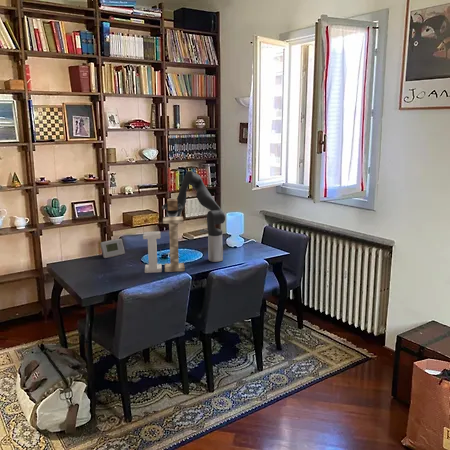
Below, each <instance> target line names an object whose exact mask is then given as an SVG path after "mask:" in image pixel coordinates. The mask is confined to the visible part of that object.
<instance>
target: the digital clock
mask: <svg viewBox="0 0 450 450" xmlns="http://www.w3.org/2000/svg"><path fill="white" fill-rule="evenodd" d="M100 249H101V252H102V256H103V257H102V258H104V259H106V258H108V259H109V258H113V257H119V256H121V255H125V253H126V251H125V247H124V243H123V239H122V238H115V239H110V240H106V241H101V242H100Z"/></svg>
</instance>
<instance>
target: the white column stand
mask: <svg viewBox="0 0 450 450" xmlns="http://www.w3.org/2000/svg"><path fill="white" fill-rule="evenodd" d="M142 239H143V240H147V252H148V253H147V255H148V264H145V265H144V273H145V274H151V273H162V271H163V269H162V263H158V250H157V240H158V239H159V240H160V239H161V231H144V232H143V235H142Z"/></svg>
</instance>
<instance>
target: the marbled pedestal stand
mask: <svg viewBox="0 0 450 450" xmlns="http://www.w3.org/2000/svg"><path fill="white" fill-rule="evenodd" d="M178 223H179V224H184V216H180V217H165V216H163V217H162V224H163V225H164V224H165V225H167V224H168V227H169V228H168V230H169V231H168V232H169V257H170V258H169V262H170V263H164V272H165V273H168V272H169V273H170V272H171V273H172V272H175V273H176V272H185V270H186V269H185V268H186V267H185V263H184V262H180V261H179V260H180V259H179V232H178V231H179V229H178V226H179V224H178Z"/></svg>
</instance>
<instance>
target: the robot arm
mask: <svg viewBox="0 0 450 450" xmlns="http://www.w3.org/2000/svg"><path fill="white" fill-rule="evenodd" d="M189 186H190V187H193V188H194V189H195V191H196V198H197V201H198V202H199V204H200V205H201V206H202V207H203V208H205V209H208V211H207V213H206V225H207V227H206V228H207V237H208V238H207V244H208V245H207V247H208V248H207V251H208V256H207V258H208V261H210V262H212V263H215V262H222V261H223V260H224V246H223V229H221V228H216V227H215V225H221V224H224V223H225V221H226V215H225V212H224V211H223V209H222V208H221V207H220V206H219V204H218V203H217V202H216V200H215V199H214V197H213V195H212V194H211V193H210V191H209V190H208V188H207V187H206V185H205V183H204V181H203V179H202V177H201V175H200V174H198V173H197V172H194V171H193V170H188V171H186V172H185V174H184V177H183V180H182V182H181V185H180V189H179V191H178V192H179V193H178V195H177V198H176V199H177V206H178V210H171V211H168V202H166V203H164V204H163V205H162V206H161V208H162V210H166V214H165V216H164V217H182V216H181V215H182V211H183V210H184V207H185V206H186V204H187V190H188V188H189ZM179 224H180V223H178V225H179Z"/></svg>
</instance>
